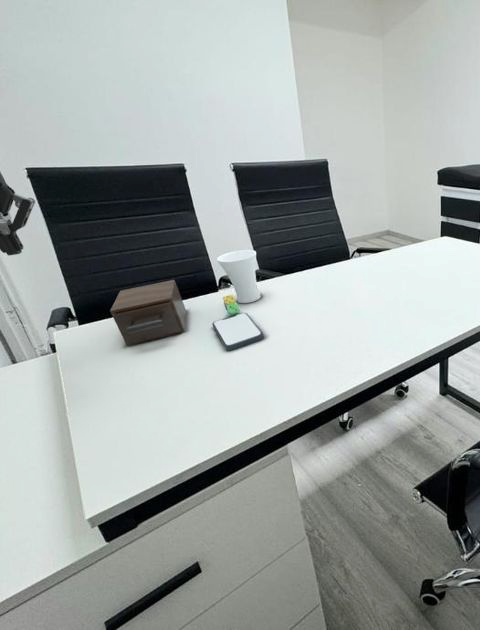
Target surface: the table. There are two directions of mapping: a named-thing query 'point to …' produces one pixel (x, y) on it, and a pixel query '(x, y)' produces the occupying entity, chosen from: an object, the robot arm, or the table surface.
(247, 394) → the table surface
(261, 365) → the table surface
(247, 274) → the cup
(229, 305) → the kitchen sponge
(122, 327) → the drawer
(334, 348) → the table surface
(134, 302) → the cabinet
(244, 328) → the phone case
